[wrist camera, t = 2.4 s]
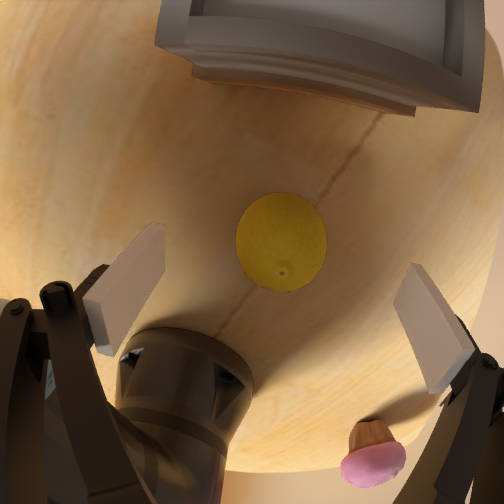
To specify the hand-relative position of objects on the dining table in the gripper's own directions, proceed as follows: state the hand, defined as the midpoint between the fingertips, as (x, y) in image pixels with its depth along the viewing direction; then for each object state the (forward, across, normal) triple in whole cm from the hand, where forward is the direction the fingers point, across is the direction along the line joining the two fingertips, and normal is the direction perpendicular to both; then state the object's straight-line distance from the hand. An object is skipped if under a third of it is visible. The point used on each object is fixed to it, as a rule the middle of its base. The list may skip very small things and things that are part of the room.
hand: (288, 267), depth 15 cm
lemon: (+8, 0, 0) cm, 8 cm away
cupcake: (+8, -18, +28) cm, 34 cm away
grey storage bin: (+8, 0, -15) cm, 17 cm away
